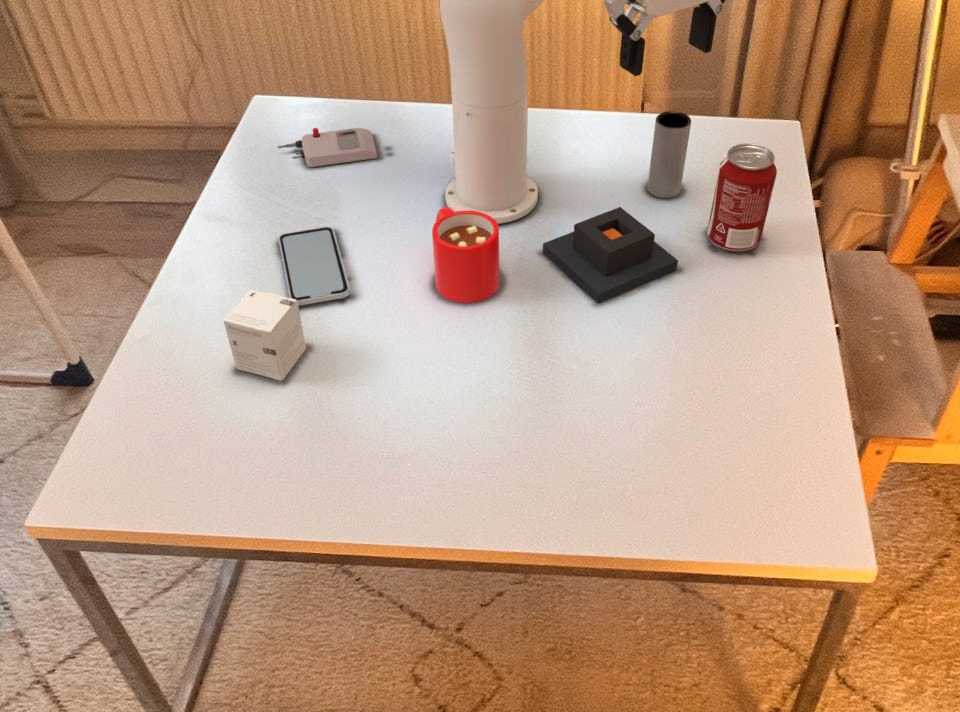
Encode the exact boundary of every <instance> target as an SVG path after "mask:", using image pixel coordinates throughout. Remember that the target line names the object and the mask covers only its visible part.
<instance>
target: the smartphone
mask: <svg viewBox="0 0 960 712" xmlns="http://www.w3.org/2000/svg"><path fill="white" fill-rule="evenodd" d="M277 241H278V246H279V250H280V255H281V260H282V266H283V270H284V276H285V278H284V279H285V284H286V287H287V292H288V296H289V297H288V298H291V299H296V300H297V302H298V306H304V305H311V304H316V303H322V302H326V301H332V300H339V299H344V298H347V297H348V296H350V294H351V288H350V283H349V281H348V275H347V272H346V269H345V265H344V262H343V258H342V255H341V251H340V247H339V244H338V240H337V236H336V233H335V230H334V228H333V227H331V226H322V227H316V228H315V227H314V228H310V229H309V228H308V229H303V230H297V231H291V232H284V233H282V234H280V235H279V236H278V238H277Z"/></svg>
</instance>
